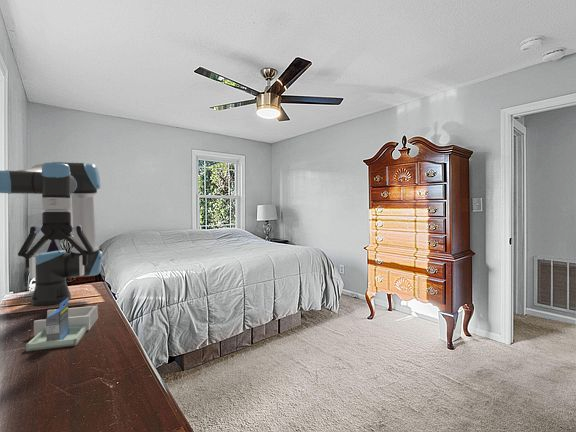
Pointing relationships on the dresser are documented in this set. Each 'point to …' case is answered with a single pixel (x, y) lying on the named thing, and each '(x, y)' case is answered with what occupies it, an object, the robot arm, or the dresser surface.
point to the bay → (72, 318)
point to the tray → (69, 340)
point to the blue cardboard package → (58, 323)
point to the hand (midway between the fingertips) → (57, 276)
